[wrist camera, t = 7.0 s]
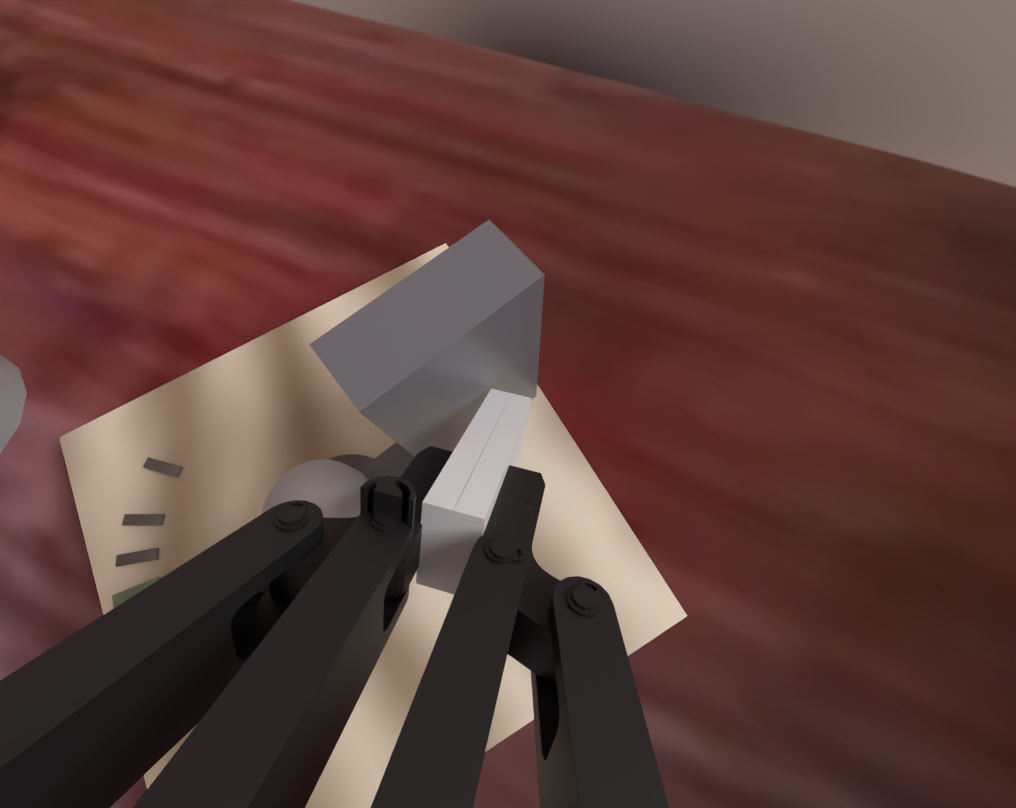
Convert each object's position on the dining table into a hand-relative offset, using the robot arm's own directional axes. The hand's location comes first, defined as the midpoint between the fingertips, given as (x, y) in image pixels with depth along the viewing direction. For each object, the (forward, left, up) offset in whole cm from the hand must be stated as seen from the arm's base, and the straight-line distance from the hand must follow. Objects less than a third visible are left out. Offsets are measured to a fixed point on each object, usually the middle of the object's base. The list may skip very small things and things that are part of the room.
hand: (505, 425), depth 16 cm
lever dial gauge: (+8, -1, -5) cm, 9 cm away
